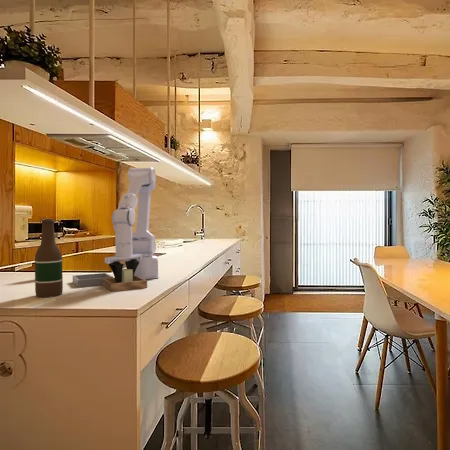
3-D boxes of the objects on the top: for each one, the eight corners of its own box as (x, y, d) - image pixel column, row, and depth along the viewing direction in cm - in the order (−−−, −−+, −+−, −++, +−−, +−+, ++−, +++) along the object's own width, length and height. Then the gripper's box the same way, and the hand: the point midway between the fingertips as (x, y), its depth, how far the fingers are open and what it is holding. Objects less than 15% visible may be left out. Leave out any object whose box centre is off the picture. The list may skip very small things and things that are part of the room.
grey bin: (105, 279, 145) (105, 272, 145) (113, 283, 135) (113, 277, 135) (72, 282, 139) (72, 275, 139) (78, 287, 129) (77, 280, 129)
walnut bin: (136, 282, 137) (136, 275, 137) (147, 287, 127) (147, 280, 127) (102, 285, 131) (102, 278, 131) (111, 291, 121) (111, 283, 121)
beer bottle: (68, 293, 118) (66, 218, 118) (49, 298, 111) (47, 218, 111) (49, 292, 121) (47, 218, 120) (29, 296, 114) (27, 219, 113)
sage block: (132, 286, 130) (132, 269, 130) (124, 288, 126) (124, 270, 126) (124, 285, 132) (124, 268, 132) (116, 287, 128) (115, 270, 128)
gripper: (133, 241, 137) (133, 278, 137) (99, 244, 125) (99, 284, 126) (145, 242, 133) (146, 280, 133) (111, 245, 121) (112, 286, 121)
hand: (124, 282), depth 129 cm, fingers closed on sage block, 4 cm apart
